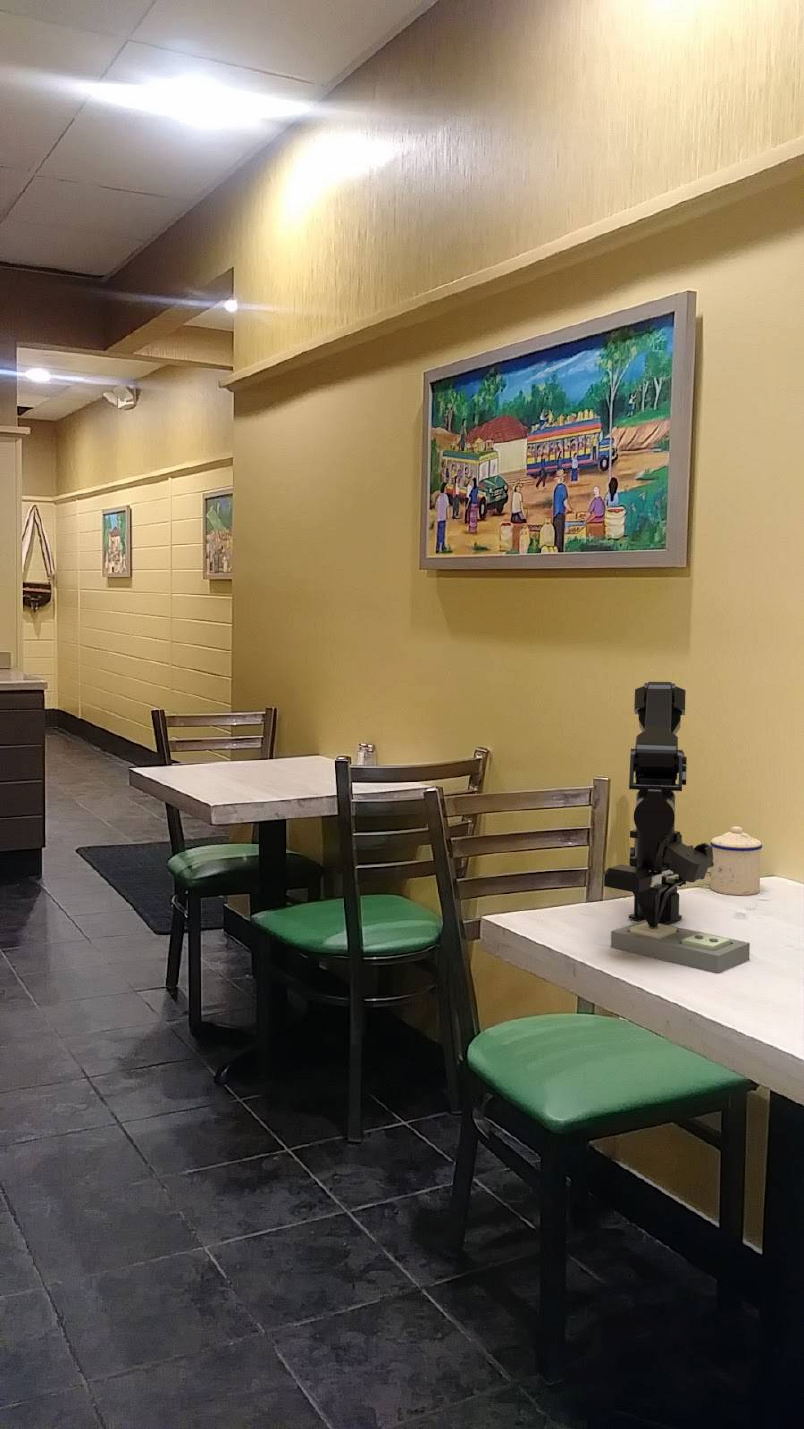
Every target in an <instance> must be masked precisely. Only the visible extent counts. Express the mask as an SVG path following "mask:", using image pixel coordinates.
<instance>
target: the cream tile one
mask: <svg viewBox="0 0 804 1429" xmlns="http://www.w3.org/2000/svg"><path fill="white" fill-rule="evenodd" d="M666 925H667V924H665V925H661V924H658V926H656V927H650V926H649V925H648V923H647V922H645V923H643V924H640V925H637V926H634V927H631V928H630V932H632V933H637V934H641V935H645V936H650V937H654V938H658V939H660V938H662V937H665V936H668V935H671V934H673V933H676V928H675V927H676V926H674V927H670V926H671V925H670V926H666Z"/></svg>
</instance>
